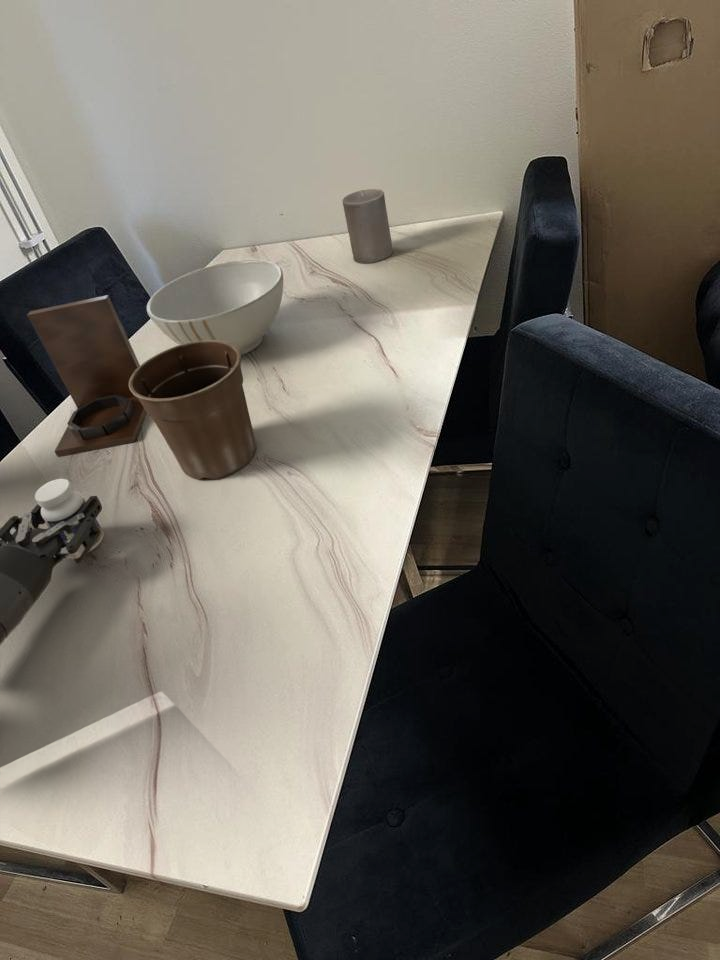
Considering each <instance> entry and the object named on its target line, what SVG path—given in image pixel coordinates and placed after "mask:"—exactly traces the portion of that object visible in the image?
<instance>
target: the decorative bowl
mask: <svg viewBox="0 0 720 960" xmlns="http://www.w3.org/2000/svg"><path fill="white" fill-rule="evenodd" d="M283 293H284V274H283V269H282V268H281V267H280V266H279V265H278V264H276V263H275V262H272V261H269V260H265V259H264V260H263V259H237V260H231V261H224V262H220V263H216V264H212V265H209V266H205V267H202V268H199V269H196V270H193V271H190V272H188V273H186V274H184V275H182V276H179V277H177V278H175V279H173V280H172V281H170V282H168V283H166V284H165V285H164V286H162V287H161V288H159V289H158V290H157V291H156V292H155V293H153V295H152V296H151V297H150V299H148V302H147V304H146V312H147V315H148V317H149V318H150V320H151V321H152V322H153V323H154V325H155V326H156V327H157V328H158V329H159V330H160V331H161V332H162V333H163V335H165V336H166V337H168V338H169V339H170V340H171V341H173V342H174V343H176V344H177V345H181V344H185V343H190V342H195V341H203V340H221V341H226V342H229V343H231V344H233V345H235V346H236V347H237V348H238V349H239V350H240V353H241V356H243V355H246V354H247V353H249V352H251V351H252V350H254V349H256V348H257V347H258V346H259V345H260V344H261V343H262V341H263V340H264V339H263V338H264V335H265V334H266V333H267V332H268V330H270V328H271V326H272V325H273V323H274V321H275V319H276V318H277V316H278V313H279V310H280V307H281V304H282V299H283Z"/></svg>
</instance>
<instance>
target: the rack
mask: <svg viewBox="0 0 720 960" xmlns="http://www.w3.org/2000/svg"><path fill="white" fill-rule="evenodd" d="M26 316H27V318H28V320H29V321H30V323H31V325H32V327H33V329H34V331H35V333H36V334H37V336H38V338H39V340H40V342H41V344H42V346H43V348H44V349H45V351H46V353H47V355H48V356H49V359H50V360H51V362H52V364H53V366H54V367H55V370H56V371H57V373H58V375H59V378H60V379H61V380H62V382H63V384H64V386H65V388H66V390H67V391H68V394H69V395H70V397H71V399H72V401H73V402H74V404H75V407H76V409H75V410H74V411H73V412H72V413H71V416H70V418H69V419H68V421H67V423H66V424H67V427H66V428H65V430H64V433H63V435H62V436H61V438H60V440H59V442H58V443H57V446H56V448H55V450H54V453H55V455H56V456H57V457H64V456H68V455H74V454H79V453H84V452H90V451H95V450H100V449H106V448H111V447H116V446H122V445H127V444H133V443H136V442H137V439H138V437H139V434H140V431H141V429H142V427H143V424H144V422H145V418H146V415H147V414H148V413H147V412H146V410H145V409H144V407H143V405H142V404H141V402H140V400H139V399H138V398H137V397H135V396H134V395H133V394H132V392H131V390H130V388H129V380H130V378H131V376H132V374H133V373H134V372H135V370H136V369H137V368H138V367H139V366H141V364H140V362H139V360H138V357H137V355H136V352H135V351H134V349H133V346H132V345H131V342H130V340H129V337H128V336H127V333H126V331H125V329H124V327H123V324H122V322H121V320H120V318H119V316H118V313H117V311H116V309H115V306H114V304H113V302H112V300H111V298H110V295H109V294H107V295H106V294H105V295H102V296H101V295H100V296H97V297H92V298H88V299H83V300H77V301H73V302H69V303H64V304H58V305H55V306H53V305H52V306H50V307H45V308H40V309H39V308H38V309H35V310H30V311H29V312H28V314H27V315H26Z"/></svg>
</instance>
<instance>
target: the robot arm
mask: <svg viewBox="0 0 720 960" xmlns="http://www.w3.org/2000/svg"><path fill="white" fill-rule="evenodd" d="M85 501H86V502H85V504H84V505H83V506H82V508H81V509H80V510H79V512H78V514H77V515H76V516H74V517H73V518H71V519H70V520H68V521H67V522H64V521H61V522H59V523H58V524H56V525H55V526H53V527H52V528H49V527H48V528H43V527H41V525H44V524H46V522H45V521H44V519H43V518H42V516H41V508H42V507H40V506H39V505H38V503H37V504H36V506H34V507H33V508H32V510H30V512H27V513H24V515H22V516H21V517H19V516H18V515H14V516H11V517H10V518H9V519H8V520H7V521H6V522H5V523H4V524H3V525H2V526H1V527H0V647H1V646H2V645H3V643H4V642H5V641H6V639H7V638H8V637H9V636H10V635H11V634H12V632H14V631H15V630H16V628H17V627H18V626H19V625H21V623H22V621H24V618H25V617H26V616H27V615H28V613H29V612H30V611H31V609H32V607H33V606H34V605H35V604H36V602H37V601H38V600H39V598H40V596H41V595H42V594H43V593H44V591H45V589H46V588H47V587H48V586H49V584H50V583H51V580H52V574H53V569H54V568H55V566H56V565H58V564H59V563H61V562H62V561H63V560H64V559H72V560H73V562H74V563H75V564H80V563H82V562H83V561H84V560H85V558H86V556H87V555H88V554H89V553H90V552H89V550H90V549H91V547H92V545H93V544H94V542H95V541H96V539H97V538H98V536H99V534H100V533H101V530H100V529H99V527H98V525H97V524H96V522H95V519H96V520H97V518H98V516H99V514H100V513H101V512H102V510H103V505H102V502H101V501H100V498H99V497H98V496H97V495H89V497H88V498H87V500H85ZM77 524H79V526H80V527H79V529H78V530H76V531H75V532H73V531H72V528H73V527H74V526H75V525H77ZM12 529H14V532H13V533H11V531H12ZM61 531H64V533H65V534H66V536H67V540H66V541H65V542H64V540H63V538H62V537H61V535H60V532H61ZM88 532H89V534H88Z"/></svg>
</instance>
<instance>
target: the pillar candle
mask: <svg viewBox="0 0 720 960" xmlns="http://www.w3.org/2000/svg"><path fill="white" fill-rule="evenodd" d="M385 197H386V196H385V192H384V191H383V190H382V189H379V188H378V189H377V188H376V189H375V188H370V189H361V190H358V191H354V192H352V193H349V194H347V195H346V196H344V197H343V198H342V207H343V211H344V217H345V222H346V227H347V232H348V236H349V241H350V242H349V243H350V247H351V253H352V259H353V261H354V262H356V263H358V264H373V263H377V262H380V261H383V260H386V259H387V258H389V257H390V256H392V254H393V251H394V248H393V241H392V236H391V235H392V234H391V230H390V224H389V217H388V210H387V204H386V198H385Z"/></svg>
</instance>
